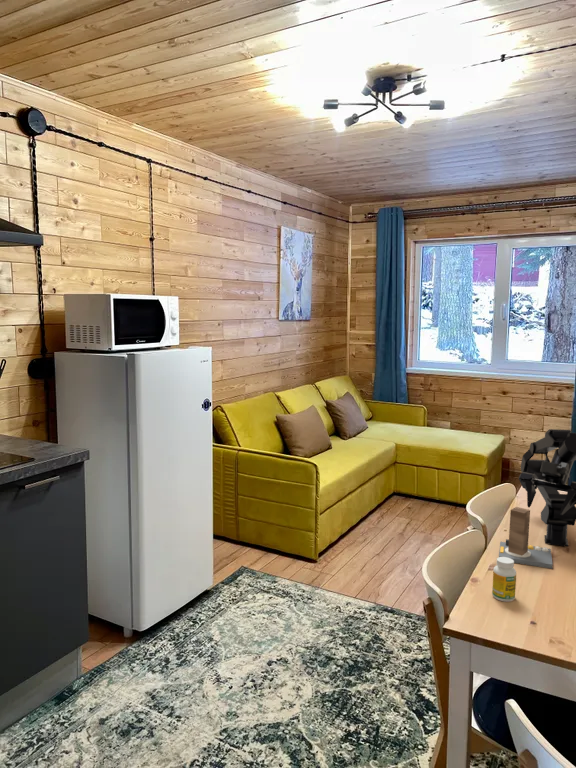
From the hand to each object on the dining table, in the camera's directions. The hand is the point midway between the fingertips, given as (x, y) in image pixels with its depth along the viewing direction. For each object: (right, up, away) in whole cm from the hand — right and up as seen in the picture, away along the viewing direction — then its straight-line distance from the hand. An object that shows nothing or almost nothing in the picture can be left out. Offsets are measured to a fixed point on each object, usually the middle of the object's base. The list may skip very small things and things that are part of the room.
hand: (544, 510), depth 167 cm
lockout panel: (-5, -13, +1) cm, 15 cm away
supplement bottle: (-21, -16, -24) cm, 36 cm away
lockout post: (-7, -12, 0) cm, 14 cm away
